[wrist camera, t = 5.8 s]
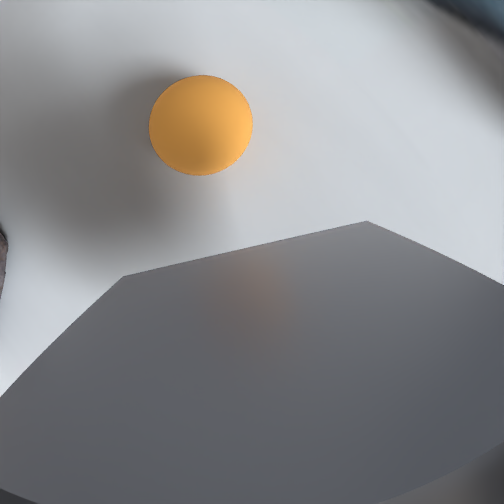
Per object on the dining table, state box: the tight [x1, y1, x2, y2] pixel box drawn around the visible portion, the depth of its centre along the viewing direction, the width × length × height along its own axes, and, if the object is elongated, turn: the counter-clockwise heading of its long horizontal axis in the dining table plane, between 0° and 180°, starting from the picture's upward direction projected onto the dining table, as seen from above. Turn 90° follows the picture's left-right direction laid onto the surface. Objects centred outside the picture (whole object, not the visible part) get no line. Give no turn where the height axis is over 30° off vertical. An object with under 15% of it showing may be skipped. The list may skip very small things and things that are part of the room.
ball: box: [149, 75, 253, 176], centre depth 14 cm, size 5×5×5 cm
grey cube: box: [0, 221, 504, 504], centre depth 6 cm, size 8×8×8 cm
